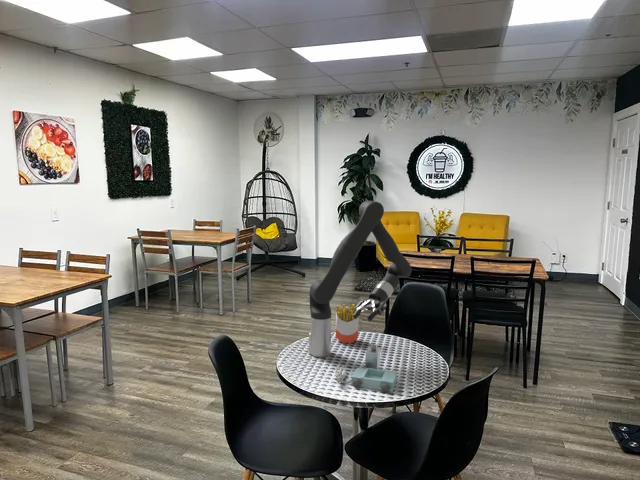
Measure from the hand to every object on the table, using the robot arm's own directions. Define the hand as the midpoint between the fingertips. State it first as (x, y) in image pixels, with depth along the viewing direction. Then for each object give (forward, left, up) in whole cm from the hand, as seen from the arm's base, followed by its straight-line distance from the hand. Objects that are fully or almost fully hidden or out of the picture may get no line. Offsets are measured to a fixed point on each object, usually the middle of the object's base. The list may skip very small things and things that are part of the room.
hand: (361, 318), depth 184 cm
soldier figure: (-3, -18, -20) cm, 27 cm away
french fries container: (-12, +23, -20) cm, 33 cm away
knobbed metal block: (+7, -5, -20) cm, 21 cm away
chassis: (+10, -16, -20) cm, 27 cm away
